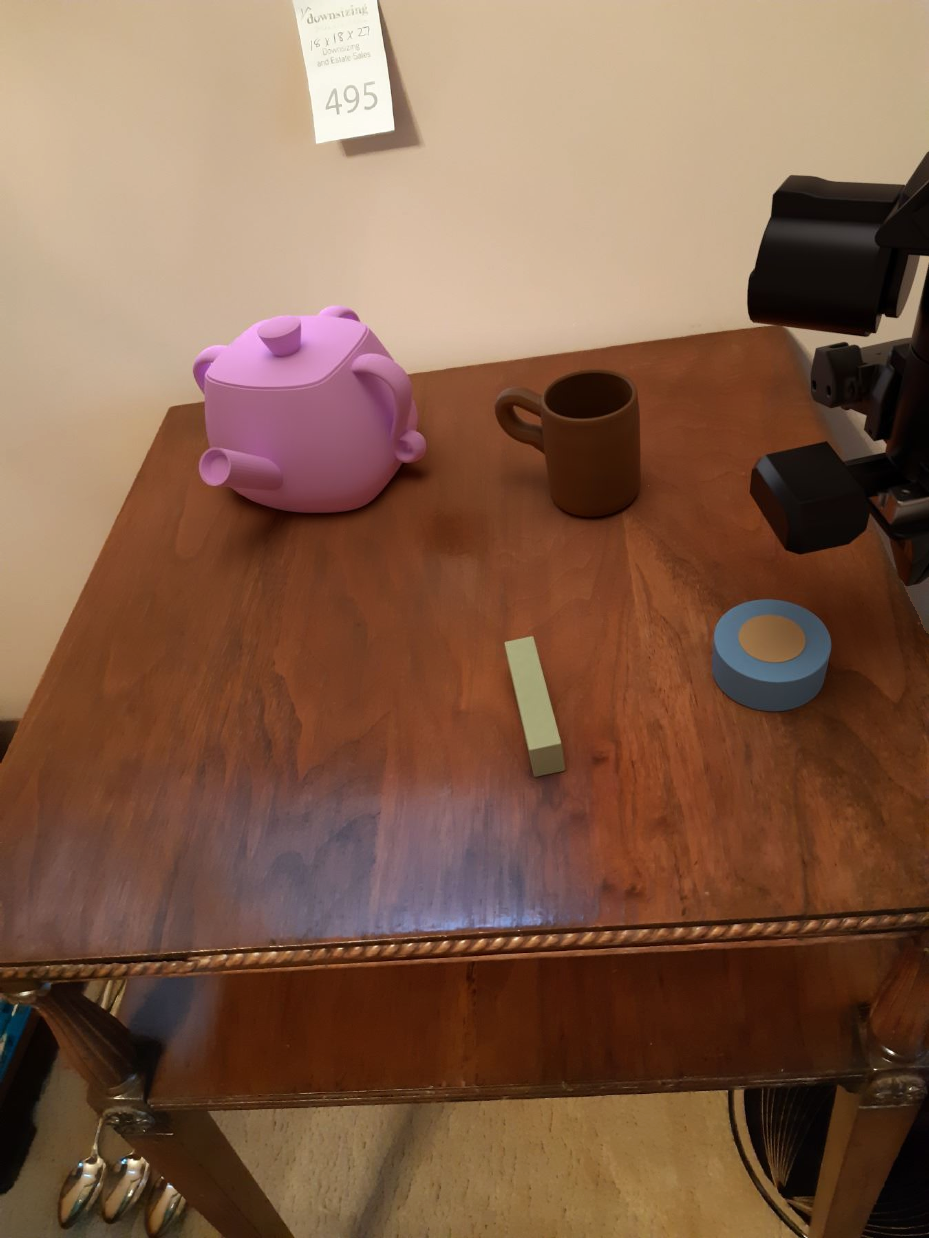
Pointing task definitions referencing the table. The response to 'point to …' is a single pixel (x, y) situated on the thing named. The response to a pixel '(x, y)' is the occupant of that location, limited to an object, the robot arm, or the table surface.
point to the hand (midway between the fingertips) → (908, 580)
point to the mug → (582, 437)
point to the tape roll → (770, 654)
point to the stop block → (534, 707)
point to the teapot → (306, 413)
